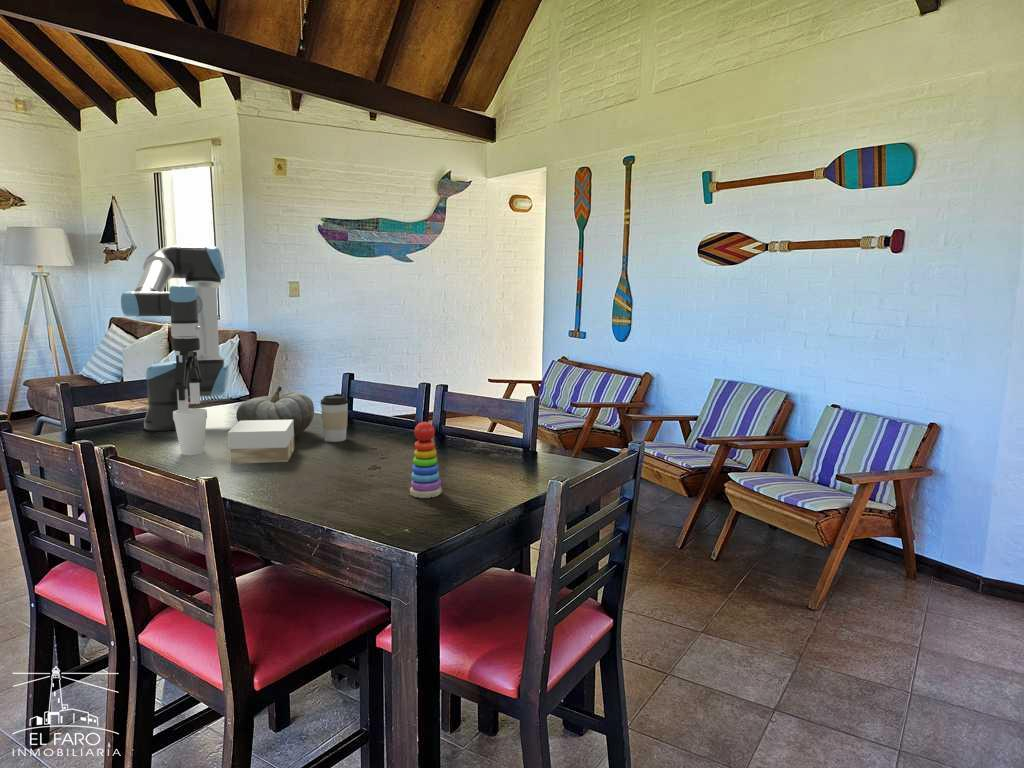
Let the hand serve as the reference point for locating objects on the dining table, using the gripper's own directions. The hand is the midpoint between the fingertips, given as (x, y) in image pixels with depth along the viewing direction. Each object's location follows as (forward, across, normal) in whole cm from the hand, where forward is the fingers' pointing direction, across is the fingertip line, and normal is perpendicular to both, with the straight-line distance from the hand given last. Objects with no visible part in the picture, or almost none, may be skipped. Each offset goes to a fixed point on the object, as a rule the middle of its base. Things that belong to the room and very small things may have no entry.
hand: (189, 407), depth 209 cm
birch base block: (+15, -6, -22) cm, 27 cm away
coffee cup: (+14, +12, -42) cm, 46 cm away
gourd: (+14, +20, -22) cm, 33 cm away
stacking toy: (+15, -52, -68) cm, 87 cm away
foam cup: (+14, 0, 0) cm, 15 cm away
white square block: (+10, -7, -22) cm, 25 cm away
